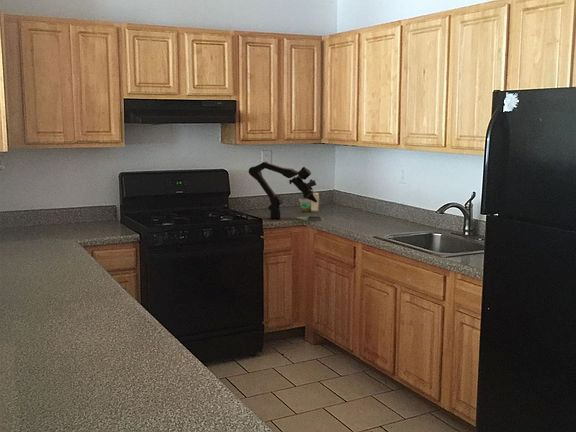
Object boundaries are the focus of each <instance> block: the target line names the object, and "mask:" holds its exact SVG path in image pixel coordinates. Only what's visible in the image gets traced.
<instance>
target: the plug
mask: <svg viewBox="0 0 576 432" xmlns="http://www.w3.org/2000/svg"><path fill="white" fill-rule="evenodd" d="M313 196H314V197H315V199H316V200H317V203H316V202H314V201H311V212H314V213H319V207H320V196H319V192H313Z"/></svg>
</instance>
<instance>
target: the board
mask: <svg viewBox="0 0 576 432" xmlns="http://www.w3.org/2000/svg"><path fill="white" fill-rule="evenodd" d="M322 217H323V216H321V215H318V216H317V215H311V216H310V215H307V216H296V218H297V219H299V220H302V221H304V222H305V221H306V222H307V221H308V222H309V221H311V222H312V221H323V220H325V219H324V218H322Z"/></svg>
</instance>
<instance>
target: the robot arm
mask: <svg viewBox="0 0 576 432" xmlns="http://www.w3.org/2000/svg"><path fill="white" fill-rule="evenodd" d="M265 169H267V170H268V171H271V172H275V173H279V174H280V175H282V176H283V177H285V178H287V179H289V181H288V182H289V185H291V184H293V185H294V186H295V187H296V188H297V189H298V191H300V192H301V193H302V195H303V199H309V200H311V201H314V202H316V203H317V200H316V199H315V197H314V196H313V193H314V189H313V187H314V186H316V185H317V183H316V181H315V179H309V181H308V182H306V180H307V179H308V178H309V177H310V176H311V175H312V172H311V171H310V170H309V169H308V168H307V167H306V166H303V167H302V168H300V170H299V171H297V170H295V169H294V168H289V167H282V166H279V165H276V164H273V163H270V162H267V161H262V162H261V163H260V164H258V165H255V166H251V167H249V169H248V173H249V175H250V176H251V177H252V178H253V179H254V180H256V181H257V183H259V185H260V186H261V188H262V190H263V191H264V192H265V194H266V195H267V196H268V199H269V201H270V202H269V203H270V205H268V211H269V212H268V215H269V217H267V218H268V219H270V220H281V207H282V206H283V204H284V201H283V198H282V197H281V195H280V194H279V193H278V194H276V193H275V191H274V190H273V189H272V187H271V186H270V185H269V183H268V182H267V181H266V179H265V178H264V177H263V173H262V171H264V170H265ZM303 180H304V181H303Z"/></svg>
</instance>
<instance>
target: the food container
mask: <svg viewBox="0 0 576 432" xmlns="http://www.w3.org/2000/svg"><path fill="white" fill-rule="evenodd" d="M298 202H299V204H300V213H304V214H305V213H313V214H314V213H315V212H311V200H309V199H306V198H299V200H298Z"/></svg>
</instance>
